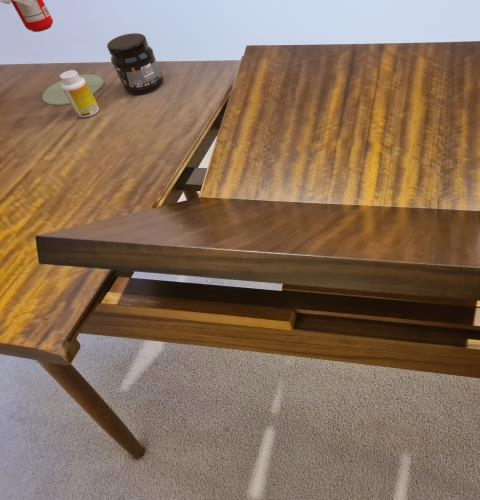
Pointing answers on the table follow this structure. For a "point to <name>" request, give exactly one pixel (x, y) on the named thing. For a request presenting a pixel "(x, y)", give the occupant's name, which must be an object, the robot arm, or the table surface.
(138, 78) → the supplement container
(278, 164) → the table surface
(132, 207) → the table surface
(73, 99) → the supplement bottle
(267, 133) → the table surface
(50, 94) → the mat
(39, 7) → the beverage can
